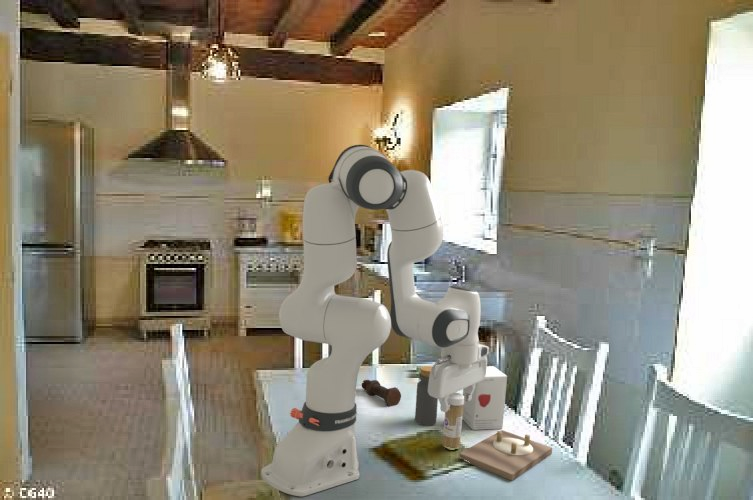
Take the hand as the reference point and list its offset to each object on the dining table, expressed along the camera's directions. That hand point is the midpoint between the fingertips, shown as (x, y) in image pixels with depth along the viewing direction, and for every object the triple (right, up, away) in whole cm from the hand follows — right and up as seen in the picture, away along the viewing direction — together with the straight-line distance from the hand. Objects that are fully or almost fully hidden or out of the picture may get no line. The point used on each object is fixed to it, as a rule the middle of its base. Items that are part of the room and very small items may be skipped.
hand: (456, 405), depth 144 cm
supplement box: (+9, -10, +17) cm, 22 cm away
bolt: (-19, -7, +33) cm, 38 cm away
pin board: (+12, -12, -3) cm, 17 cm away
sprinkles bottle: (-1, -11, +1) cm, 11 cm away
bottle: (-6, -9, +16) cm, 19 cm away
